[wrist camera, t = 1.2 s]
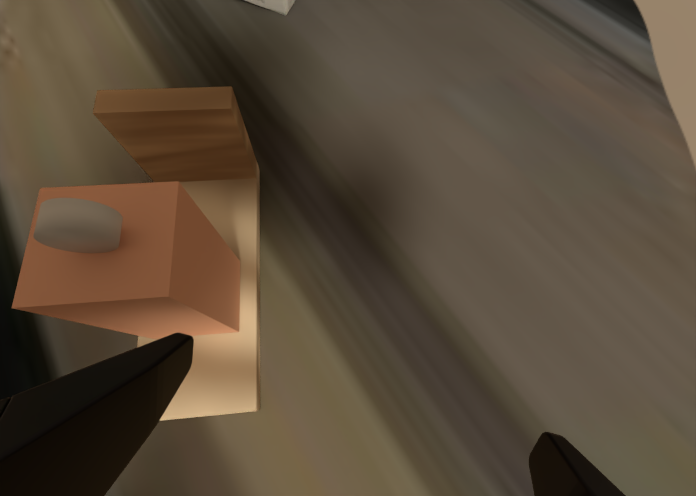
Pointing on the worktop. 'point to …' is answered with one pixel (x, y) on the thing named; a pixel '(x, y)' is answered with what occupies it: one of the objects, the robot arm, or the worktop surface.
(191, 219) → the slider
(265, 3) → the tea box
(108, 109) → the track
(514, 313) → the worktop surface
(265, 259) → the worktop surface
